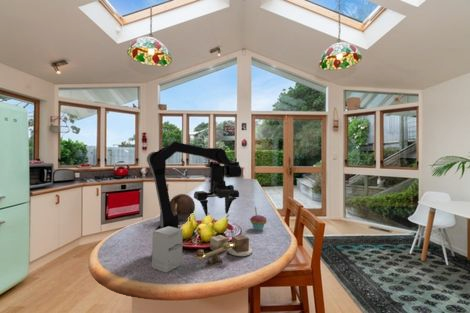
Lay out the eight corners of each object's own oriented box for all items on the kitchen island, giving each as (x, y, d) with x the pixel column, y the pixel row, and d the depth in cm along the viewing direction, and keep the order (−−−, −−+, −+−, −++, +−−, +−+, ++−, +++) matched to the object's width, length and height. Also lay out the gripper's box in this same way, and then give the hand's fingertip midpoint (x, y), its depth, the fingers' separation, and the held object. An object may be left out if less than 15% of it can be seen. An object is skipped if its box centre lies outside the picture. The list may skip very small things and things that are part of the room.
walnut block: (237, 252, 96) (237, 239, 96) (231, 248, 100) (231, 235, 100) (248, 250, 98) (248, 238, 98) (242, 246, 103) (242, 234, 103)
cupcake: (247, 230, 128) (248, 206, 128) (253, 225, 136) (253, 203, 136) (264, 232, 125) (264, 208, 125) (268, 227, 133) (268, 205, 133)
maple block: (217, 253, 98) (217, 240, 98) (210, 249, 102) (210, 237, 102) (227, 250, 101) (227, 238, 101) (220, 246, 105) (220, 234, 105)
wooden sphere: (185, 215, 157) (185, 191, 157) (199, 220, 147) (200, 194, 146) (163, 219, 146) (163, 193, 146) (177, 225, 136) (178, 197, 136)
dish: (234, 259, 93) (235, 256, 93) (223, 250, 101) (224, 247, 101) (256, 254, 97) (256, 251, 97) (244, 246, 106) (244, 243, 106)
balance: (196, 269, 85) (196, 252, 84) (192, 263, 88) (192, 248, 88) (236, 260, 92) (237, 245, 92) (231, 256, 96) (231, 241, 96)
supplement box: (166, 273, 81) (167, 234, 81) (151, 267, 85) (151, 230, 85) (182, 265, 87) (183, 228, 87) (167, 260, 91) (168, 225, 91)
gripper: (203, 180, 95) (202, 221, 95) (245, 179, 104) (245, 216, 104) (193, 178, 105) (193, 215, 105) (233, 176, 113) (233, 211, 114)
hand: (216, 214), depth 107 cm, fingers open, 9 cm apart
